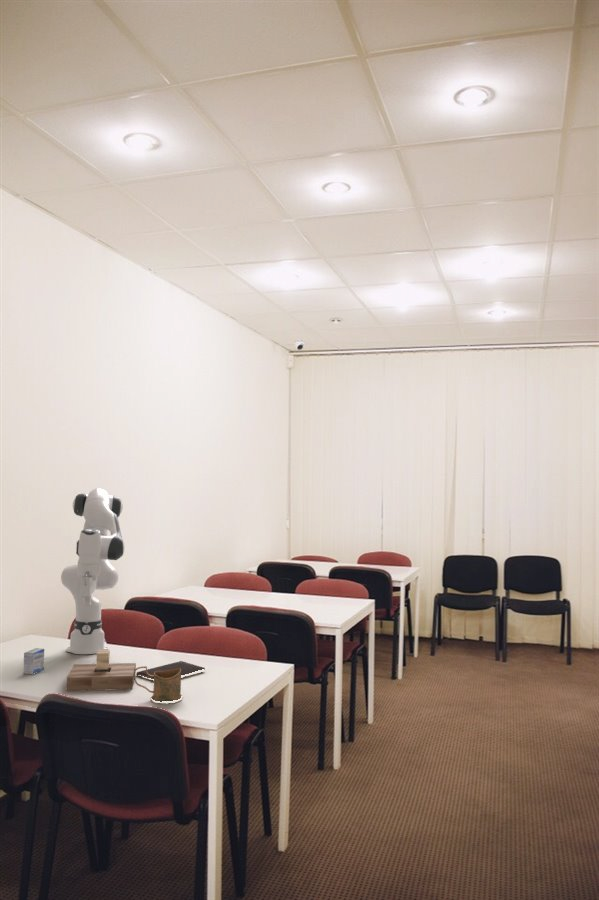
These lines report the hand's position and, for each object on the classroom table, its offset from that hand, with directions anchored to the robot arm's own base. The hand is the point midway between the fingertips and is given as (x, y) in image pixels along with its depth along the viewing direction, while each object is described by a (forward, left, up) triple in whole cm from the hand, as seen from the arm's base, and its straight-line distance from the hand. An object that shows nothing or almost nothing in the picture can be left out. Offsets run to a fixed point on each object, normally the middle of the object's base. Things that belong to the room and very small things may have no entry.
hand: (87, 605), depth 273 cm
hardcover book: (-5, +33, -30) cm, 45 cm away
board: (+5, +7, -29) cm, 30 cm away
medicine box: (-13, -22, -29) cm, 39 cm away
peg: (+5, +7, -29) cm, 30 cm away
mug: (+27, +29, -29) cm, 49 cm away
